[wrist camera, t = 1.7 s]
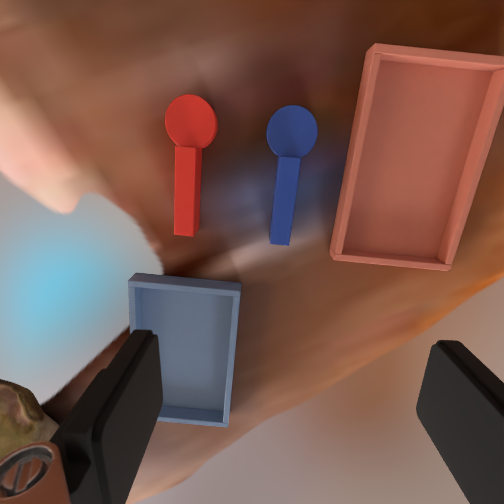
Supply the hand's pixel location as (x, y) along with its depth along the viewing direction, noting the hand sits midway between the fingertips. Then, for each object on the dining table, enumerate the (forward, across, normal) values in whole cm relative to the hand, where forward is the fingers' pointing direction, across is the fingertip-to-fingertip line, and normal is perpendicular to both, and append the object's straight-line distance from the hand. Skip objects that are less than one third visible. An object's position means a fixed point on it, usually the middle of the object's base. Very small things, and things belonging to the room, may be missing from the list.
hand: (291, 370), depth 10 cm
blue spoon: (+18, -1, -5) cm, 19 cm away
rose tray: (+18, -11, -6) cm, 22 cm away
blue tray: (+18, +8, +13) cm, 24 cm away
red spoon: (+18, +7, -5) cm, 20 cm away
